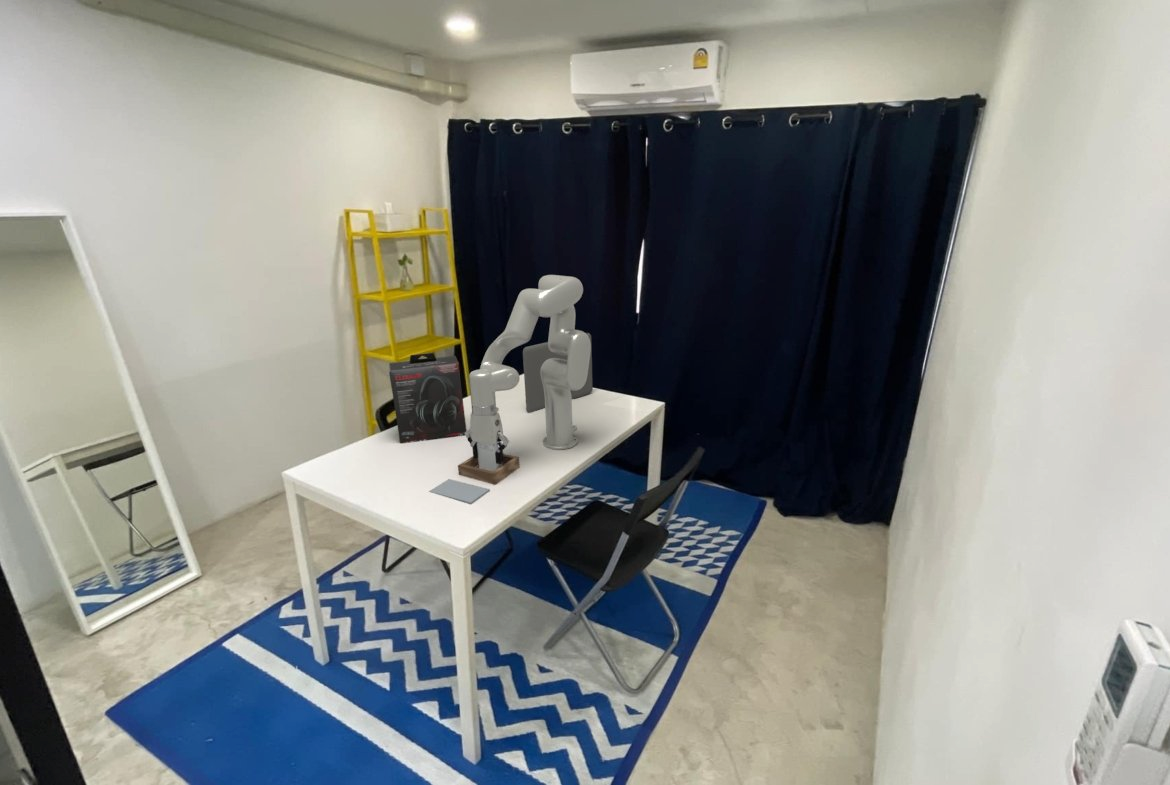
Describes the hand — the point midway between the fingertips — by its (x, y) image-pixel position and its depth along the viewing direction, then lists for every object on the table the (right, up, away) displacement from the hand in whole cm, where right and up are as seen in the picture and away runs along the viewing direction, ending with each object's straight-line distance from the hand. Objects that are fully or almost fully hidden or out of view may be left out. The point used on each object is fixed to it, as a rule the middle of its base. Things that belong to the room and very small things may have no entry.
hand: (488, 459), depth 180 cm
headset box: (-26, +4, +31) cm, 41 cm away
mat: (-7, -9, -11) cm, 16 cm away
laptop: (+11, +19, +73) cm, 76 cm away
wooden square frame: (0, -4, +2) cm, 5 cm away
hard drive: (0, -5, +2) cm, 5 cm away
